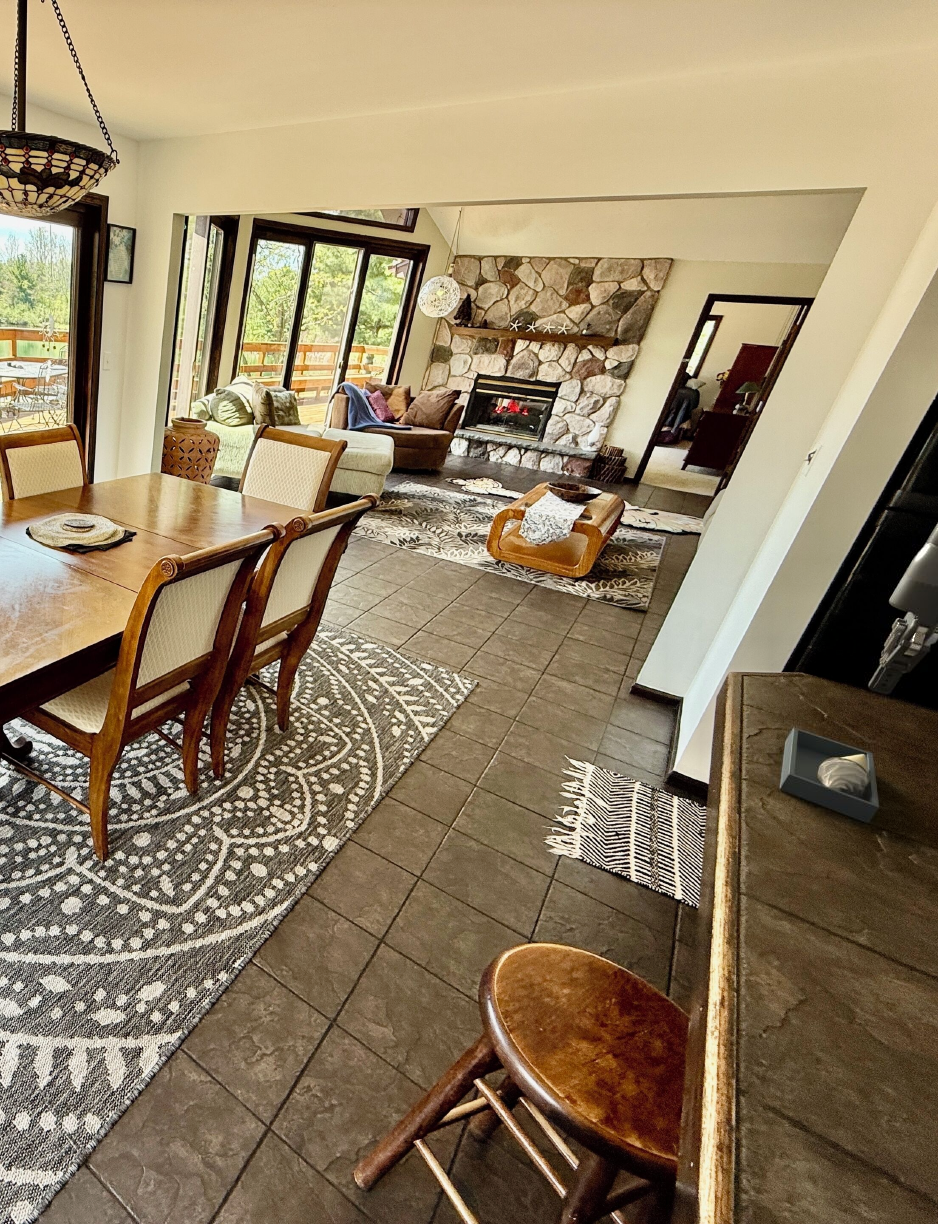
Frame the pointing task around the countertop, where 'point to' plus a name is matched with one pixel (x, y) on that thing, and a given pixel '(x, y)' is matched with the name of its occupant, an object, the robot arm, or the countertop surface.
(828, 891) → the countertop surface
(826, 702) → the countertop surface
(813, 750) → the tray
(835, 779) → the ice cream cone
